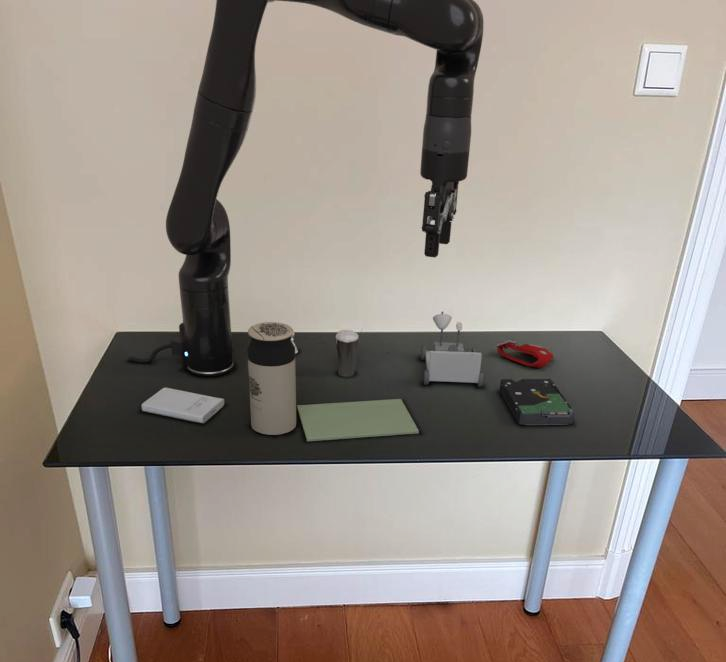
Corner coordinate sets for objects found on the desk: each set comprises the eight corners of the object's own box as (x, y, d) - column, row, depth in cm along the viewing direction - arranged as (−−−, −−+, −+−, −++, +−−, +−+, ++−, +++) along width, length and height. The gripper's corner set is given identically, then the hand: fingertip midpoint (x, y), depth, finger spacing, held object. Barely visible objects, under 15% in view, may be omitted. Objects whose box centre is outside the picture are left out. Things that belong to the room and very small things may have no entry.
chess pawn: (289, 355, 162) (288, 333, 159) (282, 351, 164) (281, 329, 161) (300, 353, 164) (300, 330, 161) (293, 348, 166) (293, 326, 163)
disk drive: (497, 391, 151) (519, 426, 138) (499, 378, 149) (521, 412, 137) (548, 390, 152) (574, 425, 140) (550, 377, 151) (576, 411, 138)
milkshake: (358, 380, 153) (360, 332, 148) (332, 376, 154) (333, 330, 148) (363, 370, 157) (364, 324, 151) (337, 368, 158) (338, 321, 152)
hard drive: (166, 394, 145) (224, 405, 142) (142, 412, 138) (203, 424, 135) (165, 386, 144) (224, 397, 141) (140, 404, 137) (202, 416, 134)
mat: (307, 441, 131) (307, 439, 131) (296, 407, 142) (296, 405, 142) (418, 433, 135) (419, 431, 135) (400, 401, 146) (400, 398, 145)
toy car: (423, 308, 161) (478, 310, 161) (420, 351, 166) (473, 354, 166) (428, 340, 146) (488, 343, 146) (424, 387, 151) (482, 389, 151)
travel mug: (289, 413, 140) (287, 319, 130) (301, 433, 134) (300, 336, 124) (246, 418, 137) (241, 323, 128) (257, 439, 131) (252, 341, 122)
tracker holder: (544, 345, 169) (565, 352, 160) (538, 365, 170) (559, 373, 161) (494, 335, 165) (513, 341, 156) (489, 355, 167) (507, 362, 157)
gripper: (433, 138, 127) (425, 237, 135) (411, 151, 115) (404, 258, 124) (478, 142, 125) (467, 242, 134) (459, 155, 113) (449, 264, 122)
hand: (437, 249), depth 129 cm, fingers open, 8 cm apart
